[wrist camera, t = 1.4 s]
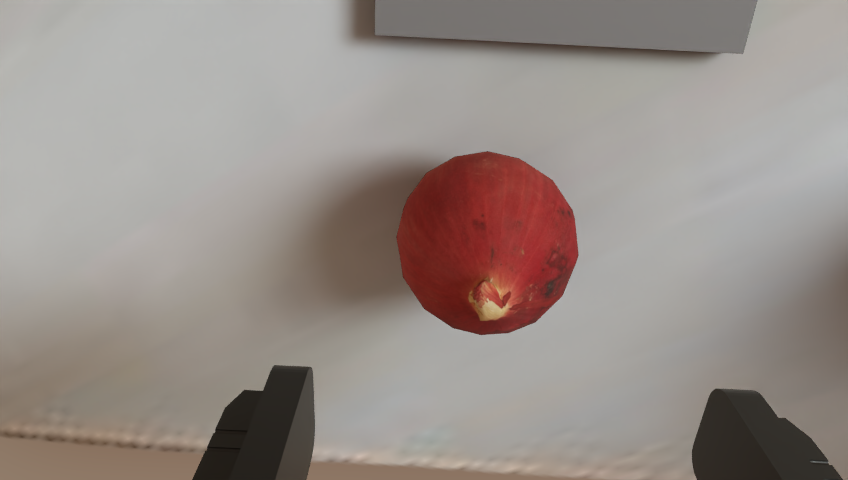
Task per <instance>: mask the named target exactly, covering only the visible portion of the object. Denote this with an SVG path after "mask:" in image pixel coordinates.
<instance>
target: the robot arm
mask: <svg viewBox="0 0 848 480" xmlns="http://www.w3.org/2000/svg"><path fill="white" fill-rule="evenodd" d="M314 436H315V415H314V389H313V371H312V368H311V367H300V366H280V365H274V366H273V368H272V370H271V372H270V375H269V377H268V380H267V382H266V385H265V387H264V390H263V391H252V390H244V391H243V392H242V393H241V394H240V395H238V396H237V397H236V398H235V399H234V400H233V401H232V402H231V403H230V404H229V405H228V406H227V407H226V408H225V409H224V412H223V414H222V416H221V418H220V420H219V422H218V425H217V427H216V430H215V433H213V436H212V438H211V440H210V442H209V444H208V446H207V451H205V453H204V455H203V457H202V460H201V462H200V464H199V466H198V469H197V471H196V473H195V475H194V477H193V479H192V480H306V479H307V475H308V470H309V467H310V462H311V458H312V453H313V446H314ZM692 463H693V469H694V473H695V476H696V478H697V480H843V479H842V478H841V476H840V475H839V474H838V472H837V471H836V470H835V469H834V467H833V466H832V465H829V464H828V460H827V458H826V457H825V456H824V454H823V453H822V452H821V451H820V449H819V448H818V447H817V445H816V444H815V443H814V442H813V440H812V439H811V438H810V437H809V436H807V435H806V434H805V433H804V432H802V431H801V430H800V429H798V428H797V427H796V426H795V425H793V424H792V423H791V422H789V421H788V420H787V419H786V418H778V417H777V415H776V414H775V413H774V411H773V410H772V409H771V407H770V406H769V405H768V403H767V402H766V401H765V399H764V398H763V397H762V395H761V394H760V393H758V392H757V391H753V390H735V389H715V390H713V391H712V392H711V394H710V396H709V398H708V402H707V405H706V408H705V411H704V414H703V417H702V420H701V423H700V426H699V429H698V432H697V435H696V438H695V441H694V445H693V449H692Z"/></svg>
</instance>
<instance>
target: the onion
mask: <svg viewBox="0 0 848 480" xmlns="http://www.w3.org/2000/svg"><path fill="white" fill-rule="evenodd" d="M396 238H397V243H398V248H399V254H400V260H401V266H402V273H403V278H404V279H405V281H406V282H407V284H408V285H409V287H410V288H411V290H412V291H413V293H414V294H415V296H416V297H417V299H418V300H419V302H420V303H421V305H422V306H423V308H424V309H425V310H427V311H428V312H430V313H431V314H433V315H434V316H436V317H437V318H439V319H440V320H442V321H443V322H445V323H446V324H448V325H449V326H451V327H452V328H455V329H459V330H463V331H467V332H471V333H475V334H479V335H486V334H501V333H510V332H512V331H515V330H517V329H520V328H522V327H525V326H527V325H530V324H532V323H534V322H536V321H537V320H538V319H539V318H540V317H541V316H542V315H543V314H544V313H545V312H546V311H547V310H548V309H549V308H550V307H551V306H552V305H553V304H554V303H555V302H556V301H558V300H559V299H560V298H561V297H562V295H563V293H564V291H565V288H566V286H567V283H568V281H569V278H570V276H571V274H572V271H573V269H574V266H575V264H576V261H577V258H578V246H577V236H576V227H575V218H574V215H573V211H572V209H571V207H570V206H569V204H568V203H567V201H566V200H565V198H564V197H563V195H562V194H561V192H560V191H559V189H558V188H557V186H556V185H555V183H554V182H553V180H551V179H550V178H548V177H547V176H545V175H544V174H542V173H541V172H539V171H538V170H536V169H535V168H533V167H532V166H530V165H529V164H527V163H526V162H524V161H522V160H521V159H519V158H514V157H510V156H506V155H501V154H497V153H492V152H488V151H487V152H481V153H475V154H469V155H463V156H457V157H454V158H452V159H450V160H449V161H447V162H445V163H443V164H441V165H440V166H438V167H436V168H434V169H433V170H431V171H429V172H427V173H426V174H425V176H424V177H423V178H422V180H421V181H420V182H419V184H418V185H417V186H416V188H415V189H414V190H413V192H412V193H411V194H410V196H409V197H408V199H407V201H406V204H405V206H404V209H403V213H402V217H401V221H400V225H399V229H398V233H397V237H396Z"/></svg>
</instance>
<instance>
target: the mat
mask: <svg viewBox="0 0 848 480" xmlns="http://www.w3.org/2000/svg"><path fill="white" fill-rule="evenodd" d="M756 4H757V0H375V35H385V36H404V37H424V38H443V39H463V40H482V41H502V42H521V43H541V44H560V45H580V46H599V47H619V48H639V49H658V50H678V51H697V52H717V53H736V54H743V53H744V49H745V45H746V41H747V38H748V34H749V30H750V26H751V23H752V19H753V15H754V11H755V8H756Z"/></svg>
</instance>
